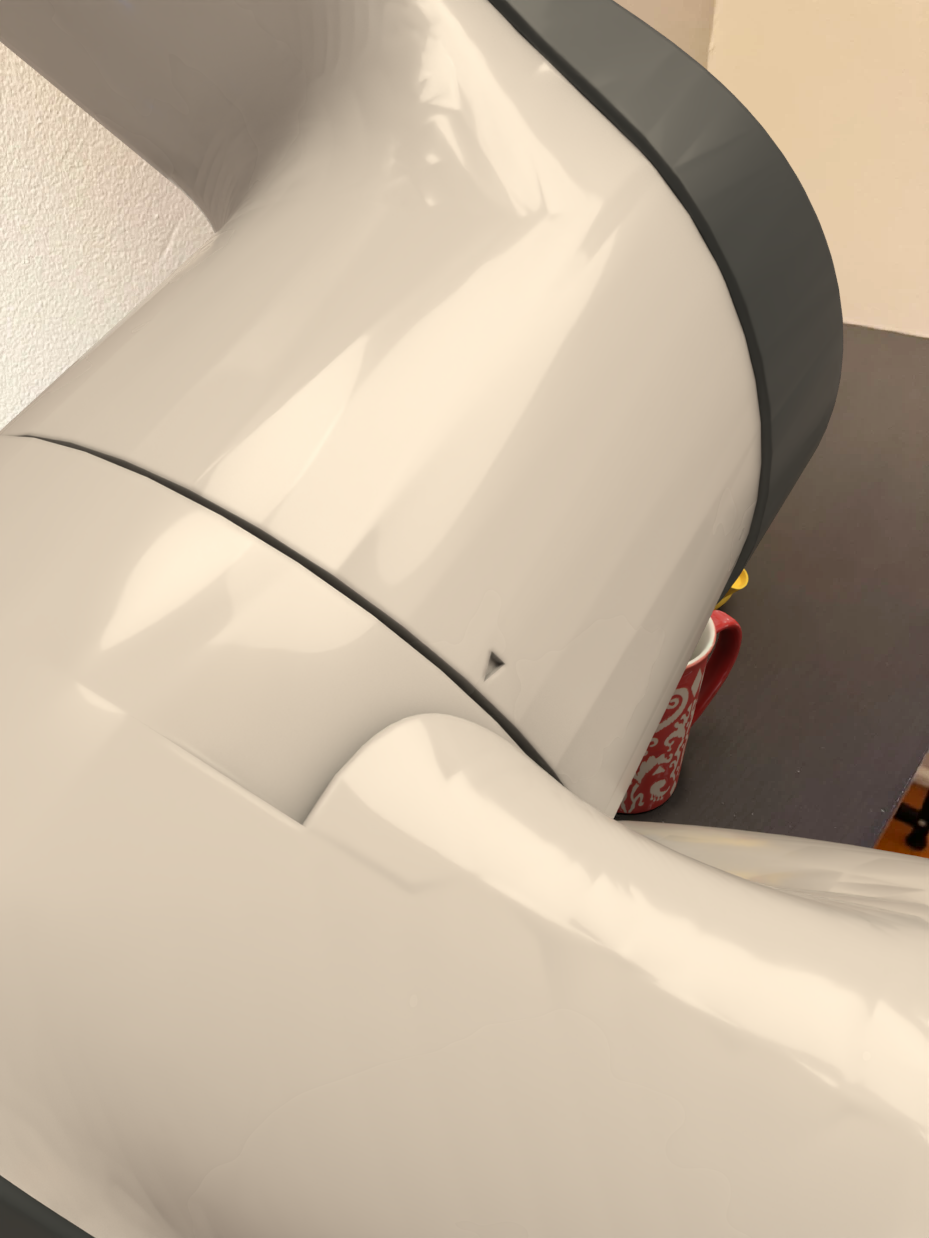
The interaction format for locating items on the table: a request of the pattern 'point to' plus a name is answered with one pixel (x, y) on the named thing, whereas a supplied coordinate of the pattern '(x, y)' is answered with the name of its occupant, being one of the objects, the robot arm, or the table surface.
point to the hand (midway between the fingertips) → (267, 922)
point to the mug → (683, 714)
